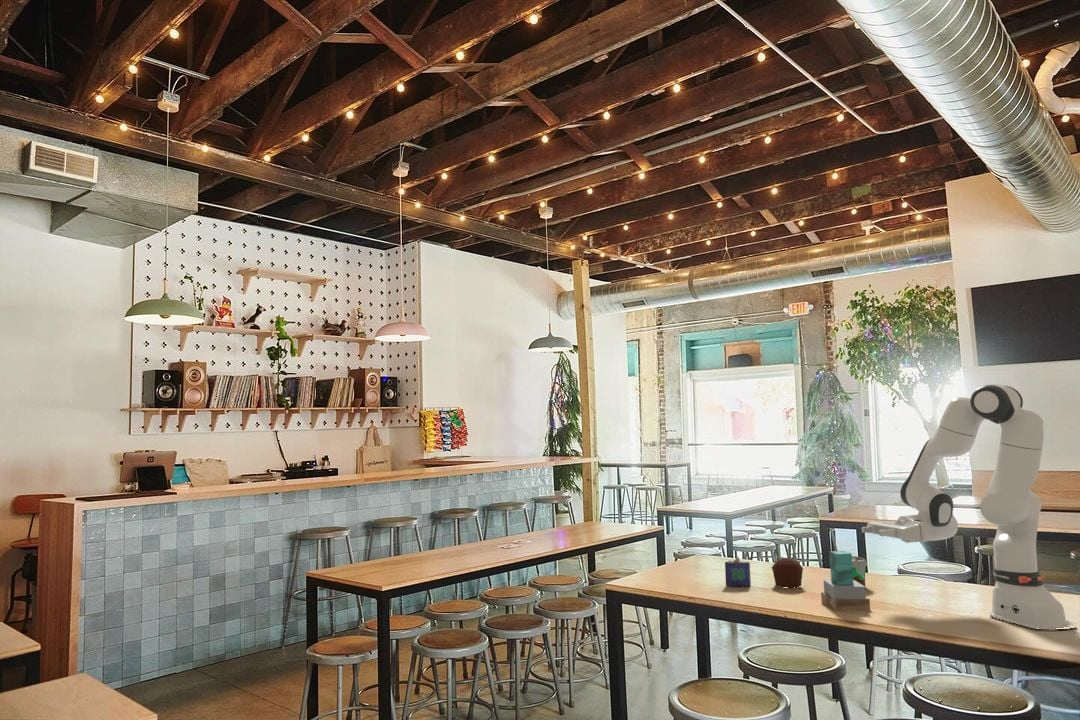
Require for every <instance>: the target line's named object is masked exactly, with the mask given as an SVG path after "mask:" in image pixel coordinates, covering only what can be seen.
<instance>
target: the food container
mask: <svg viewBox="0 0 1080 720" xmlns="http://www.w3.org/2000/svg"><path fill="white" fill-rule="evenodd" d="M867 566H868V563H867V561H866V558H864V557H860V556H854V555H852V567H853V580H855V581H857V582H858V583H860V584H862V585H863V586H865V587H866V567H867Z"/></svg>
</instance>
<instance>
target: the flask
mask: <svg viewBox="0 0 1080 720" xmlns="http://www.w3.org/2000/svg"><path fill="white" fill-rule="evenodd" d="M724 567H725V568H724V569H725V570H724V571H725V572H724V573H725V586H726V587H727V586H728V587H727V588H739V587H740V588H742V587H741V586H750V587H751V585H752V583H751V565H750V561H741V560H740V556H739V557H737V556H735V559H734V560H730V559H729V560H728V561H725V562H724Z"/></svg>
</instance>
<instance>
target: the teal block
mask: <svg viewBox="0 0 1080 720" xmlns="http://www.w3.org/2000/svg"><path fill="white" fill-rule="evenodd" d="M852 554H853V553H851V552H848V551H845V550H836V551H835V550H832V551H829V564H830V565H829V566H830V580H831V582H832V583H835V584H837V585H854V583H853V567H852V556H853V555H852Z"/></svg>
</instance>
